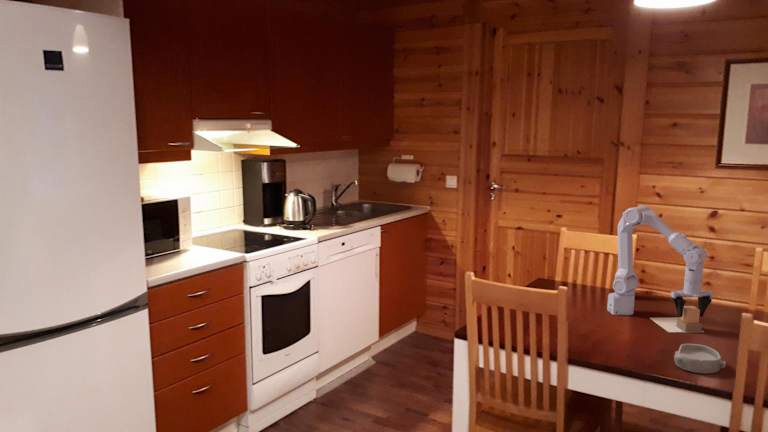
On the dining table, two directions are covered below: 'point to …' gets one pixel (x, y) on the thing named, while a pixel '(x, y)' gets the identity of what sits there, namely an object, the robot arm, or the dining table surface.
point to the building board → (667, 323)
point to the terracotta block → (690, 314)
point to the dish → (698, 359)
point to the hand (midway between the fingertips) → (690, 316)
